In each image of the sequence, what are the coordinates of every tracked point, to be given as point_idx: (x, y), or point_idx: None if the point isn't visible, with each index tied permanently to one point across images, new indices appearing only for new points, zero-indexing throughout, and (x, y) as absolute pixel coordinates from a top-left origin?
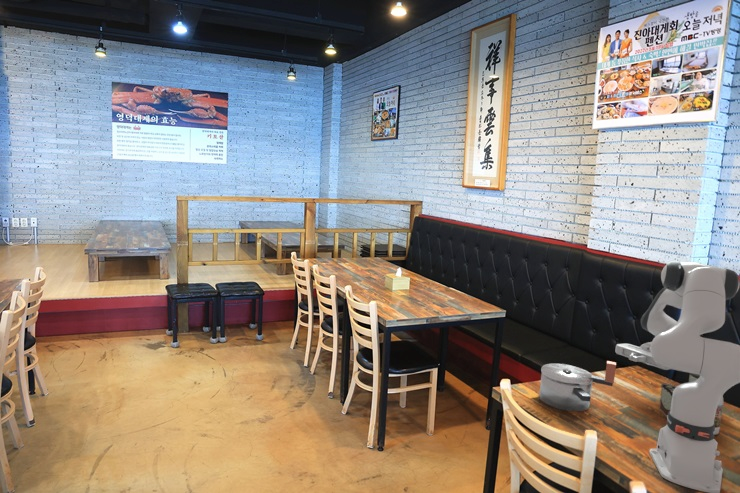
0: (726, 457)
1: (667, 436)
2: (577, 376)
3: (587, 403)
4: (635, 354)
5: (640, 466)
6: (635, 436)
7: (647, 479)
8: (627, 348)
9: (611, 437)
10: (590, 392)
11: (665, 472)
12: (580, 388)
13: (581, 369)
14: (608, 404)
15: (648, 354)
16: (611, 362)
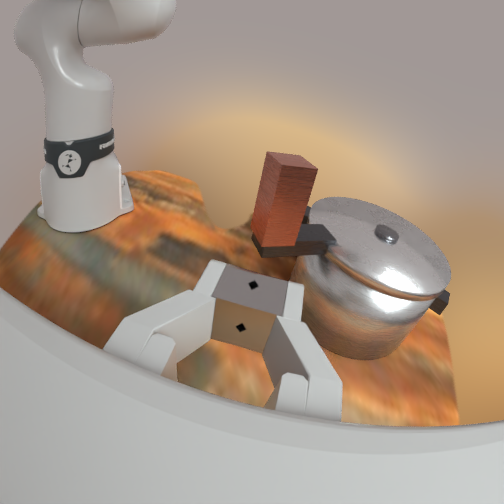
0: (4, 254)
1: (115, 155)
2: (352, 225)
3: (291, 280)
4: (274, 396)
5: (149, 185)
6: (154, 241)
7: (142, 173)
8: (453, 431)
9: (196, 220)
10: (302, 267)
11: (121, 177)
12: None
13: (398, 280)
14: (260, 374)
15: (50, 361)
16: (295, 161)
